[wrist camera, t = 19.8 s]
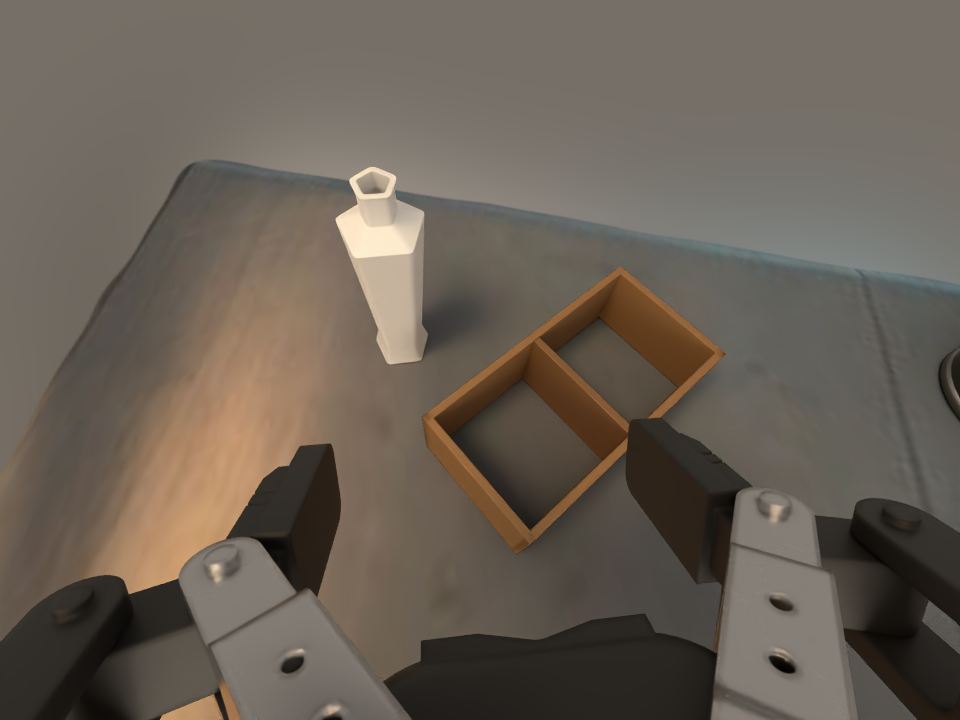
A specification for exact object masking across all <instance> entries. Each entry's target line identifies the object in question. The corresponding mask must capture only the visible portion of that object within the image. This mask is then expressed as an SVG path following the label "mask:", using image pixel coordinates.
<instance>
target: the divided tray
mask: <svg viewBox="0 0 960 720" xmlns="http://www.w3.org/2000/svg"><path fill="white" fill-rule="evenodd" d="M598 317H600V318H601V319H602V320H603V321H604V322H605V323H606V324H607V325H609V326H610V327H611V328H612V329H613V330H614V331H615V332H616V333H618V334H619V335H620V336H621V337H622V338H623V339H624V340H625V341H626V342H628V343H629V344H630V345H631V346H632V347H633V348H634V349H635V350H637V351H638V352H639V353H640V354H641V355H642V356H643V357H644V358H646V359H647V360H648V361H649V362H650V363H651V364H652V365H653V366H655V367H656V368H657V369H658V370H659V371H660V372H661V373H662V374H664V375H665V376H666V377H667V378H668V379H669V380H670V381H671V382H673V383H674V384H675V385H676V386H677V387H678V388H677V389H676V390H675V391H674V392H673V393H672V394H671V395H670V396H669V397H668V398H667V399H666V400H664V401H663V402H662V403H661V404H660V405H659V406H658V407H657V408H656V409H655V410H654V411H653V412H652V413H651V414H650V415H649V416H648V417H647V418H661V417H662V416H663V415H664V414H665V413H666V412H667V411H668V410H669V409H670V408H671V407H672V406H673V405H674V404H675V403H676V402H677V401H678V400H679V399H680V398H681V397H682V396H683V395H684V394H685V393H686V392H687V391H688V390H689V389H690V388H691V387H692V386H693V385H695V384H696V383H697V382H698V381H699V380H700V379H701V378H702V377H703V376H704V375H705V374H706V373H707V372H708V371H709V370H710V369H711V368H712V367H713V366H714V365H715V364H716V363H717V362H718V361H719V360H720V359H721V358H722V357H723V356H724V355H725V354H726V353H725V352H723V351H722V350H721V349H720V348H719V347H717V346H716V345H715V344H714V343H712V342H711V341H710V340H709V339H708V338H706V337H705V336H704V335H703V334H702V333H700V332H699V331H698V330H697V329H696V328H694V327H693V326H692V325H691V324H689V323H688V322H687V321H686V320H685V319H683V318H682V317H681V316H680V315H679V314H677V313H676V312H675V311H674V310H673V309H671V308H670V307H669V306H668V305H666V304H665V303H664V302H663V301H662V300H660V299H659V298H658V297H657V296H656V295H654V294H653V293H652V292H651V291H650V290H648V289H647V288H646V287H645V286H643V285H642V284H641V283H640V282H639V281H637V280H636V279H635V278H634V277H633V276H631V275H630V274H629V273H628V272H627V271H625V270H624V269H623V268H622V267H619V268H618V269H616V270H615V271H614V272H612V273H611V274H610V275H608V276H607V277H606V278H604V279H603V280H602V281H600V282H599V283H598V284H596V285H595V286H594V287H592V288H591V289H590V290H588V291H587V292H586V293H585V294H583V295H582V296H581V297H579V298H578V299H577V300H575V301H574V302H573V303H571V304H570V305H569V306H567V307H566V308H565V309H563V310H562V311H561V312H559V313H558V314H557V315H556V316H554V317H553V318H552V319H550V320H549V321H548V322H546V323H545V324H544V325H542V326H541V327H540V328H538V329H537V330H536V331H534V332H533V333H532V334H530V335H529V336H528V337H527V338H525V339H524V340H523V341H521V342H520V343H519V344H517V345H516V346H515V347H513V348H512V349H511V350H509V351H508V352H507V353H505V354H504V355H503V356H501V357H500V358H499V359H497V360H496V361H495V362H494V363H492V364H491V365H490V366H488V367H487V368H486V369H484V370H483V371H482V372H480V373H479V374H478V375H476V376H475V377H474V378H472V379H471V380H470V381H468V382H467V383H466V384H465V385H463V386H462V387H461V388H459V389H458V390H457V391H455V392H454V393H453V394H451V395H450V396H449V397H447V398H446V399H445V400H443V401H442V402H441V403H439V404H438V405H437V406H435V407H434V408H433V409H432V410H430V411H429V412H428V413H426V414H425V415H424V416H422V421H423V427H424V433H425V440H426V446H427V447H428V448H429V449H430V451H431V452H432V453H433V454H434V455H435V457H436V458H437V459H438V460H439V461H440V463H441V464H442V465H443V466H444V467H445V469H446V470H447V471H448V472H449V473H450V475H451V476H452V477H453V478H454V480H455V481H456V482H457V483H458V484H459V486H460V487H461V488H462V489H463V490H464V492H465V493H466V494H467V495H468V496H469V498H470V499H471V500H472V501H473V502H474V504H475V505H476V506H477V507H478V508H479V510H480V511H481V512H482V513H483V514H484V516H485V517H486V518H487V519H488V521H489V522H490V523H491V524H492V525H493V527H494V528H495V529H496V530H497V531H498V533H499V534H500V535H501V536H502V537H503V539H504V540H505V541H506V542H507V543H508V545H509V546H510V547H511V548H512V549H513V551H514V552H515V553H516V554H518V553H519V552H520V551H522V550H523V549H525V548H526V547H528V546H529V545H530V544H532V543H533V542H534V541H535V540H536V539H537V538H538V537H539V536H540V535H541V534H542V533H543V532H544V531H545V530H546V529H547V528H548V527H549V526H550V525H551V524H552V523H553V522H554V521H555V520H556V519H557V518H558V517H559V516H560V515H561V514H562V513H563V512H564V511H565V510H566V509H567V508H568V507H569V506H571V505H572V504H573V503H574V502H575V501H576V500H577V499H578V498H579V497H580V496H581V495H582V494H583V493H584V492H585V491H586V490H587V489H588V488H589V487H590V486H591V485H592V484H593V483H594V482H595V481H596V480H597V479H598V478H599V477H600V476H601V475H602V474H603V473H604V472H605V471H606V470H607V469H608V468H609V467H610V466H612V465H613V464H614V463H615V462H616V461H617V460H618V459H619V458H620V457H621V456H622V455H623V454H624V453H625V452H626V451H627V442H628V429H629V423H628V422H627V421H626V420H625V419H624V418H623V417H622V416H620V415H619V414H618V413H617V412H616V411H615V410H614V409H613V408H612V407H611V406H610V405H609V404H608V403H607V402H606V401H605V400H604V399H603V398H602V397H601V396H600V395H599V394H598V393H597V392H596V391H595V390H593V389H592V388H591V387H590V386H589V385H588V384H587V383H586V382H585V381H584V380H583V379H582V378H581V377H580V376H579V375H578V374H577V373H576V372H575V371H574V370H573V369H572V368H571V367H570V366H569V365H568V364H566V363H565V362H564V361H563V360H562V359H561V358H560V357H559V356H558V355H557V354H556V353H555V351H556V350H558V349H559V348H560V347H561V346H563V345H564V344H565V343H566V342H568V341H569V340H570V339H572V338H573V337H574V336H575V335H577V334H578V333H579V332H580V331H582V330H583V329H584V328H585V327H587V326H588V325H589V324H590V323H592V322H593V321H594V320H595V319H597V318H598ZM521 378H522V379H523V380H524V381H525V382H526V383H527V384H528V385H529V386H530V387H531V388H532V389H533V390H534V391H535V392H536V393H537V394H538V395H539V396H540V397H541V398H542V399H543V400H544V401H545V402H546V403H547V404H548V405H549V406H550V407H551V408H552V409H553V410H554V411H555V412H556V413H557V414H558V415H559V416H560V417H561V418H562V419H563V420H564V421H565V422H566V423H567V425H568V426H569V427H570V428H571V429H572V430H573V431H574V432H575V433H576V434H577V435H578V436H579V437H580V438H581V439H582V440H583V441H584V442H585V443H586V444H587V445H588V446H589V447H590V448H591V449H592V450H593V451H594V452H595V453H596V454H597V455H598V456H599V457H600V458H601V459H602V461H601V462H600V463H599V464H598V465H597V466H596V467H595V468H594V469H593V470H592V471H590V472H589V473H588V474H587V475H586V476H585V477H584V478H583V479H582V480H581V481H580V482H579V483H578V484H577V485H576V486H575V487H574V488H573V489H572V490H571V491H570V492H569V493H568V494H567V495H565V496H564V497H563V498H562V499H561V500H560V501H559V502H558V503H557V504H556V505H555V506H554V507H553V508H552V509H551V510H550V511H549V512H548V513H547V514H546V515H545V516H544V517H543V518H542V519H540V520H539V521H538V522H537V523H536V524H535V525H534V526H533V527H532V528H531V529H530V530H529V529H528V528H527V526H526V525H525V524H524V523H523V522H522V521H521V519H520V518H519V517H518V516H517V515H516V514H515V512H514V511H513V510H512V509H511V508H510V507H509V505H508V504H507V503H506V502H505V501H504V500H503V498H502V497H501V496H500V495H499V494H498V493H497V491H496V490H495V489H494V488H493V487H492V486H491V484H490V483H489V482H488V481H487V480H486V479H485V477H484V476H483V475H482V474H481V473H480V472H479V470H478V469H477V468H476V467H475V466H474V465H473V463H472V462H471V461H470V460H469V459H468V458H467V456H466V455H465V454H464V453H463V452H462V451H461V449H460V448H459V447H458V446H457V445H456V444H455V442H454V441H453V440H452V439H451V438H450V437H449V436H450V435H451V434H452V433H453V432H455V431H456V430H457V429H458V428H460V427H461V426H462V425H463V424H465V423H466V422H467V421H469V420H470V419H471V418H472V417H474V416H475V415H476V414H477V413H479V412H480V411H481V410H482V409H484V408H485V407H486V406H487V405H489V404H490V403H491V402H492V401H494V400H495V399H496V398H497V397H499V396H500V395H501V394H502V393H504V392H505V391H506V390H507V389H509V388H510V387H511V386H512V385H514V384H515V383H516V382H517V381H519V380H520V379H521ZM647 418H646V419H647Z"/></svg>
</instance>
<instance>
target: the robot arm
mask: <svg viewBox="0 0 960 720" xmlns="http://www.w3.org/2000/svg"><path fill="white" fill-rule="evenodd" d="M940 378H941V384H942V388H943V391H944V394H945V396H946V398H947V400H948V402H949V404H950V405H951V407H952V408H953V410H954V411H955V413H956V414H957V415H958V416H959V418H960V348H958V349H956V350H954V351H953V352H951V353H950V354H948V355H947V357H946V358H945V359H944V361H943V363H942V366H941V371H940ZM626 481H627V485H628V488H629V490H630V492H631V494H632V495H633V497H634V498H635V499H636V501H637V502H638V504H639V505H640V506H641V508H642V509H643V510H644V512H645V513H646V515H647V516H648V517H649V519H650V520H651V522H652V523H653V524H654V526H655V527H656V528H657V530H658V531H659V533H660V534H661V535H662V537H663V538H664V539H665V541H666V542H667V544H668V545H669V546H670V548H671V549H672V550H673V552H674V553H675V555H676V556H677V557H678V559H679V560H680V561H681V563H682V564H683V566H684V567H685V568H686V570H687V571H688V572H689V574H690V575H691V577H692V578H693V579H694V581H695V582H696V583H697V584H701V583H709V582H719V583H720V584H721V585H722V588H721V595H720V601H719V609H718V616H717V624H716V632H715V639H714V647H713V651H711V650H709V649H707V648H705V647H703V646H701V645H698V644H696V643H694V642H691V641H688V640H685V639H682V638H679V637H676V636H671V635H667V634H662V633H655V631H654V629H653V627H652V626H651V624H650V622H649V620H648V618H647V616H646V615H645V614H637V615H629V616H621V617H612V618H604V619H596V620H591V621H588V622H585V623H583V624H580V625H578V626H575V627H573V628H570V629H567V630H565V631H562V632H560V633H557V634H555V635H552V636H549V637H547V638H544V639H540V640H530V639H521V638H511V637H502V636H493V635H484V634H473V635H464V636H456V637H448V638H440V639H431V640H423V641H421V661H420V662H418V663H415V664H413V665H410V666H408V667H406V668H404V669H402V670H401V671H399V672H397V673H395V674H394V675H392V676H391V677H389V678H388V679H386V680H385V681H383V682H382V680H381V679H380V678H379V677H378V675H377V674H376V673H375V671H374V670H373V669H372V668H371V666H370V665H369V664H368V662H367V661H366V660H365V659H364V657H363V656H362V655H361V653H360V652H359V651H358V650H357V648H356V647H355V646H354V644H353V643H352V642H351V641H350V639H349V638H348V637H347V636H346V634H345V633H344V632H343V630H342V629H341V628H340V627H339V625H338V624H337V623H336V621H335V620H334V619H333V618H332V616H331V615H330V614H329V612H328V611H327V610H326V609H325V607H324V606H323V605H322V603H321V602H320V601H319V600H318V598H317V596H318V593H319V589H320V586H321V582H322V579H323V576H324V572H325V569H326V565H327V562H328V558H329V555H330V551H331V548H332V544H333V541H334V537H335V534H336V531H337V527H338V524H339V520H340V512H341V499H340V491H339V484H338V477H337V471H336V464H335V457H334V451H333V448H332V445H331V444H318V445H306V446H300V447H299V448H298V450H297V452H296V454H295V456H294V458H293V459H292V461H291V463H290V465H289V466H282V467H278V468H277V469H275V470H274V471H273V472H271V473H270V474H269V475H268V476H266V477H265V478H264V479H263V480H262V482H261V483H260V485H259V486H258V488H257V490H256V491H255V495H253V496H252V498H251V499H250V501H249V502H248V506H246V507H245V509H244V511H243V512H242V514H241V515H240V517H239V519H238V520H237V522H236V523H235V525H234V527H233V528H232V530H231V531H230V533H229V535H228V536H227V538H226V539H225V540H223V541H219V542H217V543H214V544H212V545H210V546H208V547H206V548H204V549H202V550H201V551H199V552H198V553H196V554H195V555H194V556H192V557H191V558H190V559H189V560H188V561H187V562H186V563H185V565H184V566H183V567H182V569H181V571H180V573H179V578H178V579H176V580H173V581H170V582H167V583H164V584H161V585H158V586H154V587H151V588H148V589H145V590H142V591H138V592H135V593H132V594H128V591H127V588H126V585H125V582H124V581H123V579H121V578H120V577H117V576H113V575H103V576H96V577H91V578H87V579H84V580H81V581H78V582H75V583H73V584H71V585H68V586H66V587H64V588H62V589H60V590H58V591H56V592H55V593H53V594H51V595H50V596H48V597H47V598H45V599H44V600H42V601H41V602H39V603H38V604H37V605H36V606H35V607H33V608H32V609H31V610H30V611H29V612H28V613H27V614H26V615H25V616H24V617H23V618H22V619H21V621H20V622H19V623H18V624H17V625H16V626H15V627H14V628H13V629H12V630H11V631H10V632H9V633H8V635H7V636H6V637H5V638H4V639H3V640H2V641H1V642H0V720H160V718H161V716H162V715H163V714H166V713H168V712H171V711H173V710H176V709H178V708H180V707H183V706H185V705H188V704H190V703H193V702H195V701H198V700H200V699H202V698H205V697H207V696H210V695H213V698H214V701H215V703H216V706H217V709H218V711H219V714H220V716H221V719H222V720H858V715H857V709H856V703H855V697H854V691H853V685H852V679H851V673H850V667H849V661H848V655H847V649H846V642H845V640H846V641H847V642H848V643H849V645H850V646H851V647H852V648H853V649H854V650H855V651H856V652H857V653H858V654H859V656H860V657H861V658H862V659H863V660H864V661H865V662H866V663H867V664H868V665H869V667H870V668H871V669H872V670H873V671H874V672H875V673H876V674H877V675H878V677H879V678H880V679H881V680H882V681H883V682H884V683H885V684H886V685H887V686H888V688H889V689H890V690H891V691H892V692H893V693H894V694H895V695H896V696H897V697H898V699H899V700H900V701H901V702H902V703H903V704H904V705H905V706H906V707H907V708H908V710H909V711H910V712H911V713H912V714H913V715H914V716H915V717H916V718H917V719H918V720H960V655H959V654H958V653H957V652H956V651H955V650H954V649H953V648H951V647H950V646H949V645H948V644H947V643H946V642H945V641H943V640H942V639H941V638H940V637H939V636H938V635H937V634H936V633H934V632H933V631H932V630H931V629H930V628H929V627H928V626H926V625H925V624H924V623H923V622H922V618H923V615H924V612H925V609H926V606H927V603H928V600H930V601H931V602H932V603H933V604H934V605H936V606H937V607H938V608H939V609H941V610H942V611H943V612H944V613H945V614H947V615H948V616H949V617H950V618H951V619H953V620H954V621H955V622H956V623H957V624H958V625H959V626H960V533H959V532H957V531H955V530H954V529H952V528H951V527H949V526H948V525H946V524H945V523H943V522H941V521H940V520H938V519H937V518H935V517H933V516H932V515H930V514H928V513H926V512H924V511H922V510H920V509H918V508H915V507H913V506H910V505H907V504H904V503H901V502H897V501H892V500H887V499H879V498H868V499H863V500H860V501H858V502H857V503H856V506H855V510H854V514H853V518H852V519H843V518H834V517H824V516H815V515H814V512H813V511H812V509H811V508H810V507H809V506H808V505H807V504H806V503H804V502H803V501H801V500H800V499H798V498H796V497H795V496H793V495H790V494H788V493H785V492H782V491H779V490H775V489H771V488H764V487H753V486H752V485H750V484H749V483H748V482H747V481H746V480H744V479H743V478H742V477H741V476H740V475H739V474H737V473H736V472H735V471H734V470H733V469H731V468H730V467H729V466H728V465H727V464H725V463H722V460H721V459H719V458H718V457H717V456H716V455H715V454H712V452H711V451H710V450H709V449H708V448H706V447H705V446H704V445H703V444H702V443H700V442H699V441H697V440H695V439H693V438H690V437H688V436H686V435H684V434H682V433H680V434H679V433H678V432H677V431H676V430H674V429H673V428H672V427H671V426H670V425H669V424H668V423H666V422H665V421H664V420H663V419H662V418H647V419H634V420H632V421H631V422H630V424H629V429H628V442H627V456H626Z"/></svg>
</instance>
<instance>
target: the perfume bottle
mask: <svg viewBox="0 0 960 720" xmlns="http://www.w3.org/2000/svg"><path fill="white" fill-rule="evenodd" d="M349 182H350V184H351V186H352V188H353V190H354V192H355V194H356V198H357V202H358V205H356V206H354V207H353V208H351V209H349V210H348V211H346V212H344V213H343V214H341V215H339V216H338V217H337V218H336V223H337V225H338V228H339V231H340V233H341V236H342V238H343V241H344V243H345V246H346V248H347V251H348V253H349V256H350V258H351V261H352V264H353V266H354V269H355V271H356V274H357V276H358V279H359V281H360V284H361V286H362V289H363V291H364V294H365V297H366V299H367V302H368V304H369V307H370V309H371V312H372V314H373V317H374V319H375V322H376V325H377V327H378V335H377V339H376V340H377V343H378V345H379V347H380V349H381V351H382V353H383V355H384V358H385V360H386V362H387V363H388V364H399V363H407V362H416V361H420V360H422V357H423V353H424V349H425V345H426V341H427V337H428V333H427V331H426V330H425V328H424V327H423V325H422V299H423V248H424V212H423V211H422V210H420V209H418V208H415V207H413V206H410V205H408V204H406V203H403V202H401V201H399V200H396V195H395V187H394V185H395V183H396V177H395V176H394V175H393V174H390V173H388V172H385V171H383V170H381V169H378V168H376V167H370V168H367V169H366V170H364V171H362V172H361V173H359V174H357V175H355V176H353V177H352V178H351V179H350V181H349Z"/></svg>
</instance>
